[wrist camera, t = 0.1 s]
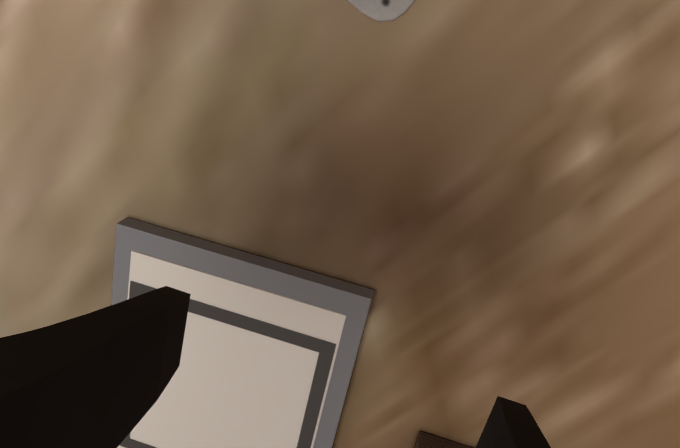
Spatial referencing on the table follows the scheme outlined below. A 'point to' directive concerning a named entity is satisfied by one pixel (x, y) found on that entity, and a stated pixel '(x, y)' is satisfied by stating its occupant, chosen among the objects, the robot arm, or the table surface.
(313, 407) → the grey white rectangular board
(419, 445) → the ink pad
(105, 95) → the table surface
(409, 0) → the emergency button
